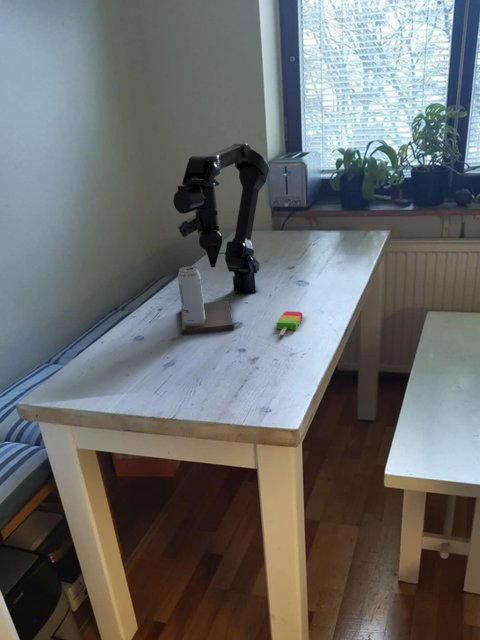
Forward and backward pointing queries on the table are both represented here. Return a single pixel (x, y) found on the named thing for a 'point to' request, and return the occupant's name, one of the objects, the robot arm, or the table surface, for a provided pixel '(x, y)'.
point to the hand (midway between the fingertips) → (212, 262)
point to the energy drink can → (191, 296)
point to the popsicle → (289, 321)
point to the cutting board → (212, 319)
